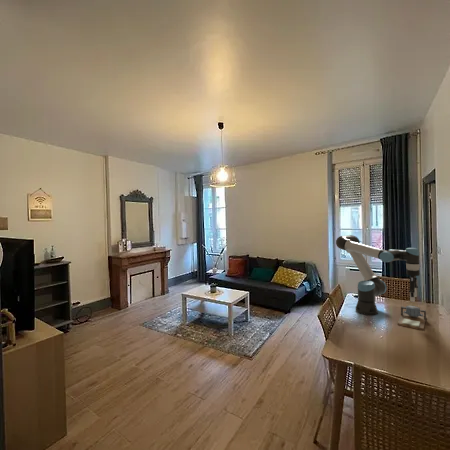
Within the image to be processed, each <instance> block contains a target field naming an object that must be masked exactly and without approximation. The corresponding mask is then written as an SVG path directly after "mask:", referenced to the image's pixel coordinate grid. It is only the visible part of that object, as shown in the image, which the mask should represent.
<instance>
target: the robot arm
mask: <svg viewBox="0 0 450 450" xmlns="http://www.w3.org/2000/svg"><path fill="white" fill-rule="evenodd" d="M335 245H336V247H337V248H338V249H340V250H344V251H345V252H346V253H348V254H350V256H351V258H352V259H353V262H354V263H355V265H356V267H357V269H358V271H359V272H360V274H361V276H362V277H363V280H360V281H359V282H357V303H356V306H355V312H357V314H358V313H359V314H361V315H366V316H376V315H378V313H379V312H378V311H379V310H378V308H377V305H376V297H379V296H381V295H383V294H385V293H386V292H387V287H388V286H387V284H386V283H385V282H384V280H381V279H380V277H379V276H378V275H375V274H374V271H373V270H372V267H371V266H370V265H369V263H368V261H367V259H366V258H365V256H368V257H370V258H375V259H379V260H380V261H381V262H383V263H390V262H395V261H405V265H406V275H408V276H409V278H408V279H409V290H408V292H409V301H410V302H416V298H417V297H418V290H417V289H418V288H419V287H418V285H417V284H418V283H417V281H418V280H417V279H418V278H417V277H419V276H420V275H421V274H420V267H421V265H420V251H419V249H418V248H417V247H407V248H405V250H403V249H393V248H392V249H388V250H385V249H382V248H379V247H375V246H370V245H367V244H364V243H361V241H360V239H359V238H358V236H356V235H353V234H349V235H340V236H338V237H337V238H336V240H335ZM364 255H365V256H364Z"/></svg>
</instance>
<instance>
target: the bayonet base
mask: <svg viewBox="0 0 450 450" xmlns="http://www.w3.org/2000/svg"><path fill="white" fill-rule="evenodd" d="M404 310H406V306H400V317H399V320H398V321H397V325H398V326H401V327H402V326H403V327H407V328H411V329H416V330H421V331H424V330H425V327H426V326H425V325H426V320H427V310H425V309H420V313H423V317H422V316H419V317H415V316H410V315H407V314H406V313H404Z"/></svg>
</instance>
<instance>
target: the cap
mask: <svg viewBox="0 0 450 450" xmlns="http://www.w3.org/2000/svg"><path fill="white" fill-rule="evenodd" d="M405 307H406V309H405V310H403V312H404V313H406V314H407V315H410V316H415V317H419V316H422V317H423V316H424V313H423V314H422V313H421V307H418V306H414V305H406V306H405Z"/></svg>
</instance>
